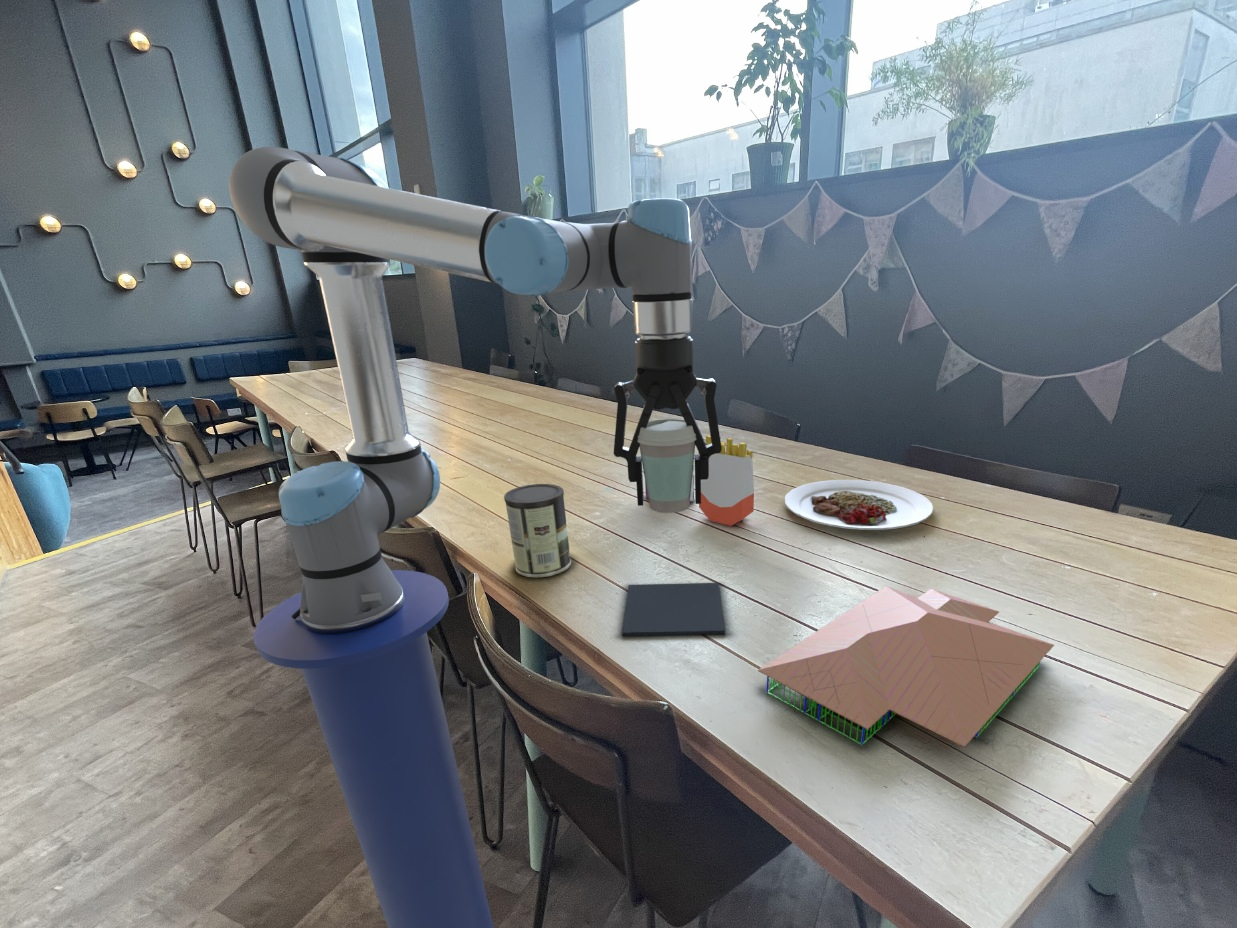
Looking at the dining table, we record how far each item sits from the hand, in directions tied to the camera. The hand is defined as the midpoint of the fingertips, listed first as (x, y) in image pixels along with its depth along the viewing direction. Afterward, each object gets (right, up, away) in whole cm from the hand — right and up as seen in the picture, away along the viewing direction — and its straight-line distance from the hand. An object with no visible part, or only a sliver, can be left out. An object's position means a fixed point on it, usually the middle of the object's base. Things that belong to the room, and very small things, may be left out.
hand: (669, 501), depth 89 cm
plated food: (+41, +1, +43) cm, 59 cm away
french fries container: (+13, -1, +40) cm, 42 cm away
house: (+30, -23, -11) cm, 40 cm away
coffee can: (-23, -10, +24) cm, 34 cm away
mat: (+1, -16, +7) cm, 18 cm away
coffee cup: (0, -1, 0) cm, 1 cm away
